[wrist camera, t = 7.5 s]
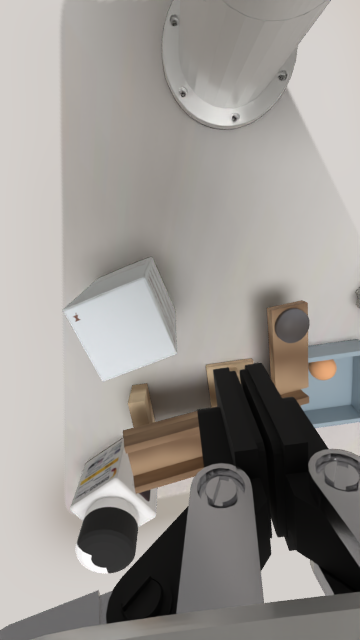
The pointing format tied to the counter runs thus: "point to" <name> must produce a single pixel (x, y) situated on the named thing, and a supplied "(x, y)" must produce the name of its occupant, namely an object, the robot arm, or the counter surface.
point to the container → (110, 511)
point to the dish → (334, 385)
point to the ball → (323, 369)
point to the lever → (183, 431)
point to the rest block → (140, 405)
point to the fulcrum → (232, 366)
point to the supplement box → (125, 320)
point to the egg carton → (359, 294)
